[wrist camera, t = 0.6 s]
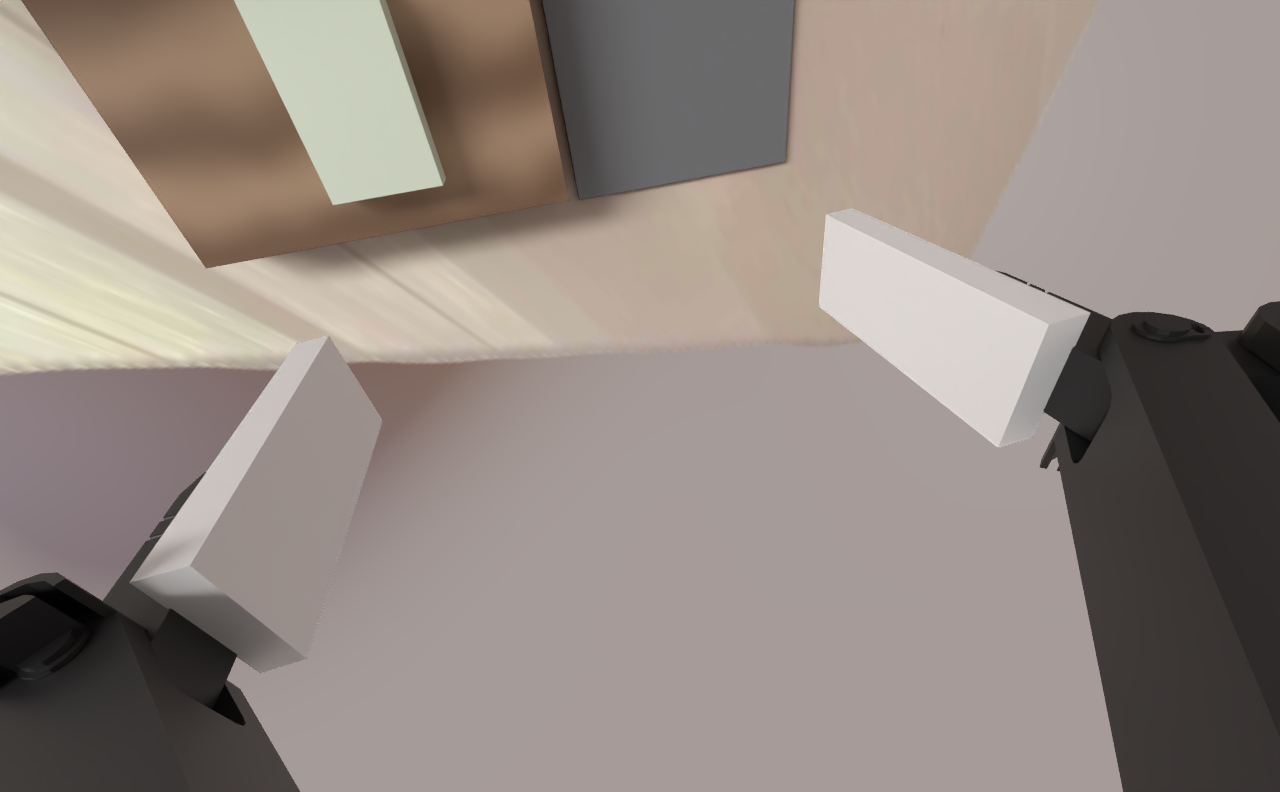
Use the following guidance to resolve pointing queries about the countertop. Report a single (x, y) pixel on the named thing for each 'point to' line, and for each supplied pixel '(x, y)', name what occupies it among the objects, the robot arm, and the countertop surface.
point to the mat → (670, 87)
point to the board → (267, 138)
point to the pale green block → (347, 94)
